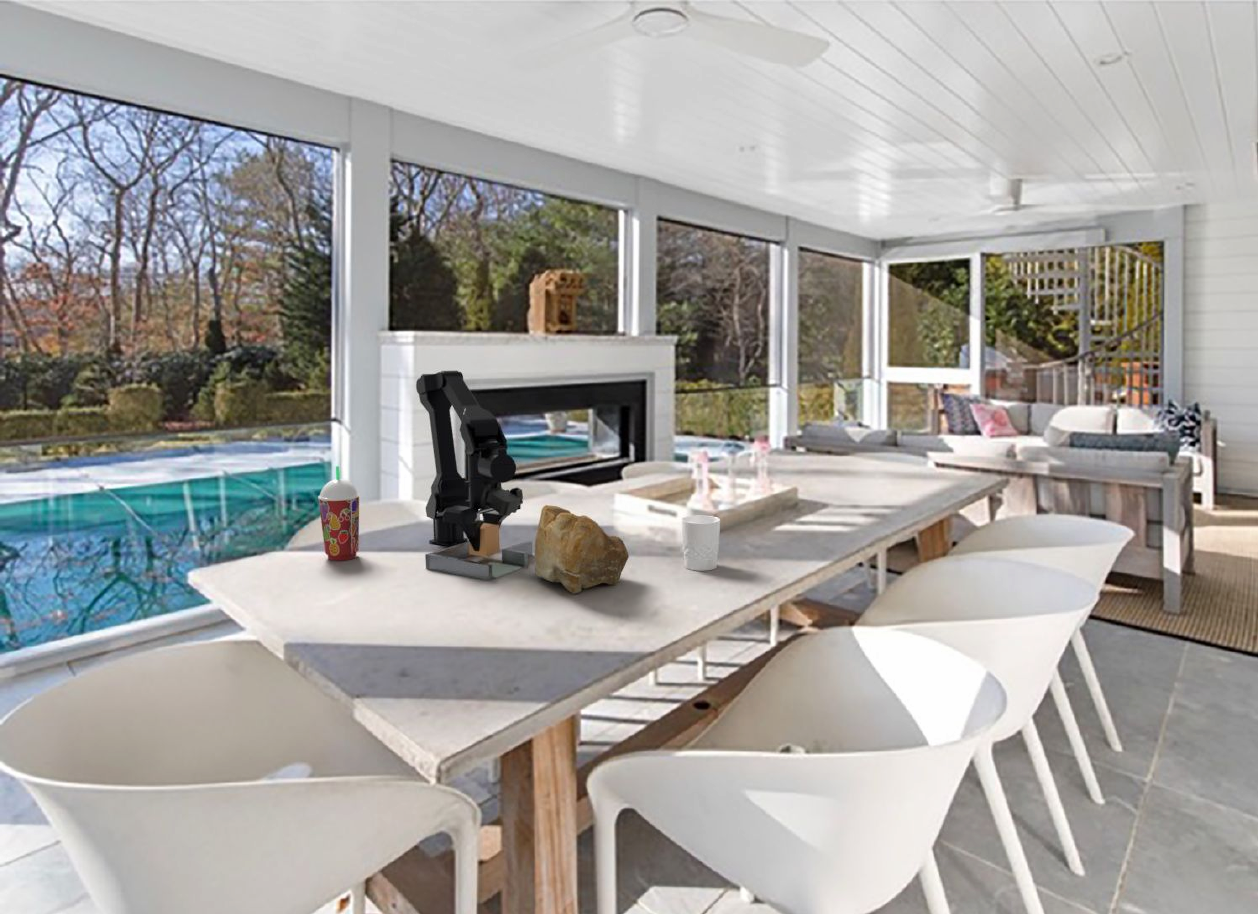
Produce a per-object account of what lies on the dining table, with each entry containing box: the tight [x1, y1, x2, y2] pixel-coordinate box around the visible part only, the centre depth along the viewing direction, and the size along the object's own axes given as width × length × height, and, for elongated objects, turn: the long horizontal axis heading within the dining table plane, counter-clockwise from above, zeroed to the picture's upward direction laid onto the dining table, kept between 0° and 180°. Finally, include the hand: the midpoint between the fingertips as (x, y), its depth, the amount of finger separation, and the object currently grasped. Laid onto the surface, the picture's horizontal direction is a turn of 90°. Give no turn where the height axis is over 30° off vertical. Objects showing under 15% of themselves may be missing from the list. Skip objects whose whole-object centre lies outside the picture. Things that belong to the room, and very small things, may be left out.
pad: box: [486, 561, 523, 579], centre depth 162 cm, size 8×8×1 cm
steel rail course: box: [424, 540, 533, 582], centre depth 167 cm, size 17×20×3 cm
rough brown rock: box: [534, 504, 630, 595], centre depth 152 cm, size 23×17×15 cm
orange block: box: [469, 523, 501, 558], centre depth 169 cm, size 4×4×6 cm
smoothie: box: [317, 465, 361, 562], centre depth 171 cm, size 8×8×20 cm
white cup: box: [681, 514, 721, 572], centre depth 163 cm, size 8×8×10 cm
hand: (484, 548), depth 169 cm, fingers closed on orange block, 4 cm apart
